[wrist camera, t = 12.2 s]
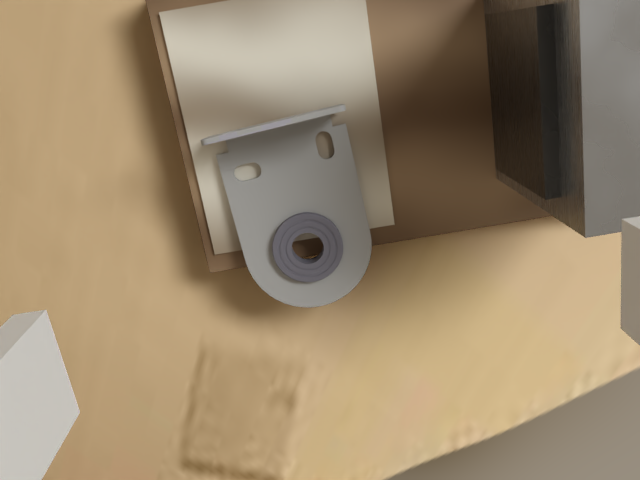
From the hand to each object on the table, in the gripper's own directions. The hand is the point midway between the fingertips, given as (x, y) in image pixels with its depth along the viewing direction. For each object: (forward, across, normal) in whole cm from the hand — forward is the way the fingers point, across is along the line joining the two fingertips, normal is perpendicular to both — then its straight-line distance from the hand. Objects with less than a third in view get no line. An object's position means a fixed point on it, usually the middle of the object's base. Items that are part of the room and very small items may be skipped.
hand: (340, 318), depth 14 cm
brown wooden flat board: (+20, +5, +2) cm, 20 cm away
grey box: (+18, +12, +2) cm, 22 cm away
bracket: (+18, -1, -2) cm, 18 cm away
